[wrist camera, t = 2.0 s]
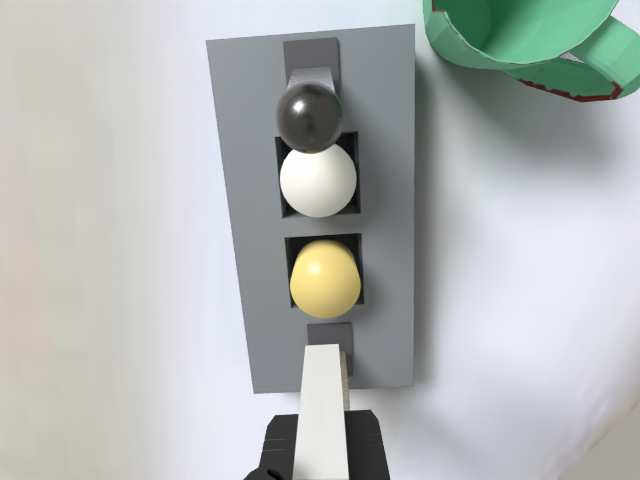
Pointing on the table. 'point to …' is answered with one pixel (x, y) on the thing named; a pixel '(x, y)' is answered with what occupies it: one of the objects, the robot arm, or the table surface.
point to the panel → (363, 218)
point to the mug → (540, 43)
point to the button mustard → (325, 279)
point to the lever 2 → (344, 381)
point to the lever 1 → (310, 111)
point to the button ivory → (318, 181)
